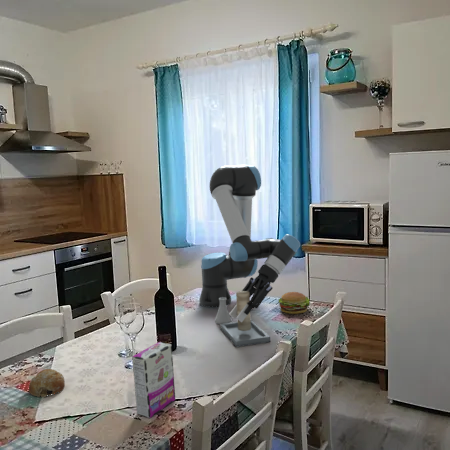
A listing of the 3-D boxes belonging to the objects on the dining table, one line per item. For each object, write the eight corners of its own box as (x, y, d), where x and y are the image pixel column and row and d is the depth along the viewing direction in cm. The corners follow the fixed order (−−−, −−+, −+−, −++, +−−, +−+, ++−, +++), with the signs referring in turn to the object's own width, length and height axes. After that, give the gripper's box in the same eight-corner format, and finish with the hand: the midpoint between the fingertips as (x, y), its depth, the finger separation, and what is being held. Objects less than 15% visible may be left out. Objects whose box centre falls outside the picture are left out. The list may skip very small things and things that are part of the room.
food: (277, 315, 201) (277, 297, 200) (278, 305, 214) (278, 288, 213) (310, 316, 198) (310, 297, 197) (309, 306, 212) (309, 289, 211)
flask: (230, 325, 191) (229, 301, 190) (213, 324, 192) (212, 300, 191) (233, 319, 198) (232, 296, 197) (217, 318, 199) (216, 295, 198)
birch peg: (236, 327, 180) (234, 292, 178) (248, 325, 182) (246, 290, 180) (240, 331, 175) (238, 295, 174) (252, 329, 177) (251, 293, 175)
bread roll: (31, 410, 136) (30, 391, 132) (27, 383, 144) (26, 365, 140) (67, 401, 140) (67, 382, 137) (60, 375, 148) (60, 357, 144)
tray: (220, 328, 187) (220, 324, 186) (251, 324, 190) (251, 319, 190) (236, 347, 168) (236, 341, 167) (270, 341, 171) (270, 336, 171)
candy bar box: (162, 396, 134) (158, 341, 132) (176, 400, 131) (173, 344, 129) (135, 414, 124) (131, 355, 122) (149, 419, 122) (145, 359, 120)
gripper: (290, 279, 175) (253, 330, 170) (265, 271, 191) (230, 317, 186) (278, 267, 172) (240, 319, 167) (253, 259, 188) (218, 306, 183)
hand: (235, 318), depth 176 cm, fingers closed on birch peg, 5 cm apart
